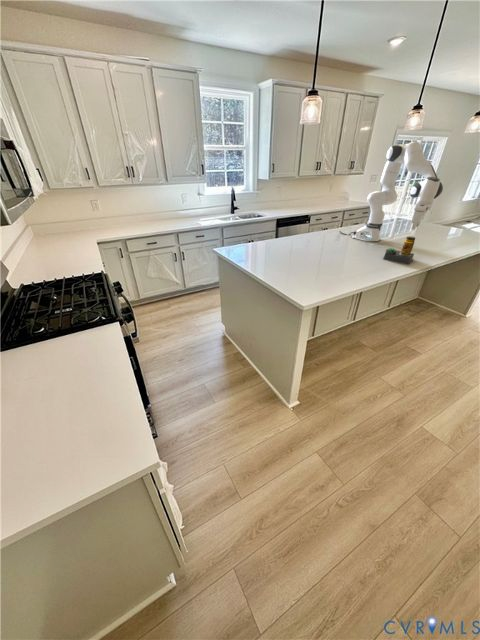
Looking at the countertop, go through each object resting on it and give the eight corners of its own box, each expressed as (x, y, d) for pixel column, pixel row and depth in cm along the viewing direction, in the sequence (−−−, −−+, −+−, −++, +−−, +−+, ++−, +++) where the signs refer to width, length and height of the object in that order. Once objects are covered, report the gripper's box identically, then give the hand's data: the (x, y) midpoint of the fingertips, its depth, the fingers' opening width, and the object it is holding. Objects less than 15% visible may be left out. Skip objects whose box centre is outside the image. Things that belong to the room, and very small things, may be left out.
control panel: (382, 258, 187) (385, 250, 184) (387, 254, 195) (390, 246, 192) (408, 264, 178) (411, 256, 174) (412, 259, 186) (415, 251, 183)
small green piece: (387, 251, 184) (388, 248, 183) (389, 249, 186) (389, 247, 185) (393, 252, 182) (393, 249, 181) (394, 251, 184) (395, 248, 183)
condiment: (398, 254, 182) (404, 237, 176) (401, 251, 188) (407, 234, 181) (409, 256, 178) (416, 239, 172) (412, 253, 184) (419, 236, 177)
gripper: (420, 203, 173) (413, 224, 181) (414, 207, 160) (405, 230, 168) (431, 204, 170) (423, 226, 177) (425, 209, 157) (416, 232, 165)
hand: (414, 228), depth 173 cm, fingers open, 8 cm apart
